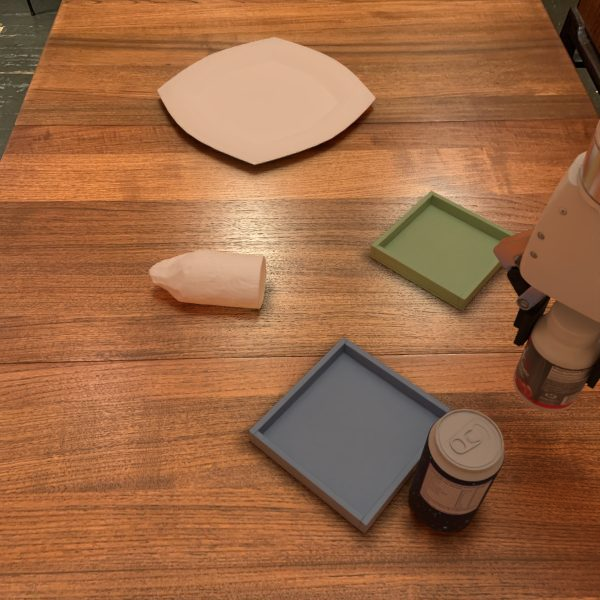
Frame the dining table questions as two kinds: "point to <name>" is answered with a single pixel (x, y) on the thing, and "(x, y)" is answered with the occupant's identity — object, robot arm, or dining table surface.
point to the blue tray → (350, 432)
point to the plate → (265, 99)
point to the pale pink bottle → (213, 278)
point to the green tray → (442, 249)
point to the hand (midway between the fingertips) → (560, 353)
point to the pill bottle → (557, 359)
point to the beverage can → (456, 469)
